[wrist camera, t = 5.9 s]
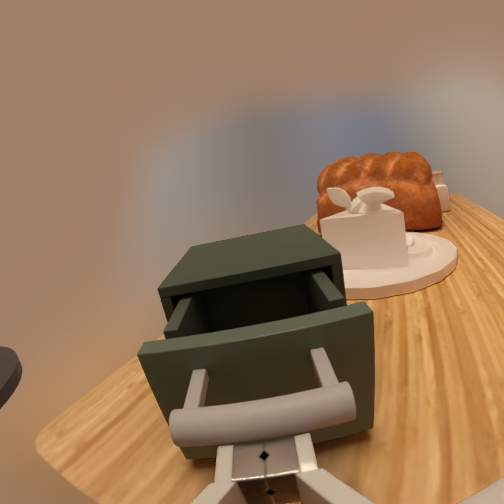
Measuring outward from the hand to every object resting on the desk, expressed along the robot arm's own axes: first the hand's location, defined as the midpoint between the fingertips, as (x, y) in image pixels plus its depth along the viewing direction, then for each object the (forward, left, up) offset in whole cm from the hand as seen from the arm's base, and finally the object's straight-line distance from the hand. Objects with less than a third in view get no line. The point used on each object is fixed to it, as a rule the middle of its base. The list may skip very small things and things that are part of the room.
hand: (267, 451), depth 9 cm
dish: (+10, +36, -6) cm, 38 cm away
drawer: (-1, +8, -5) cm, 9 cm away
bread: (+17, +58, -6) cm, 61 cm away
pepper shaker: (+35, +66, -6) cm, 75 cm away
